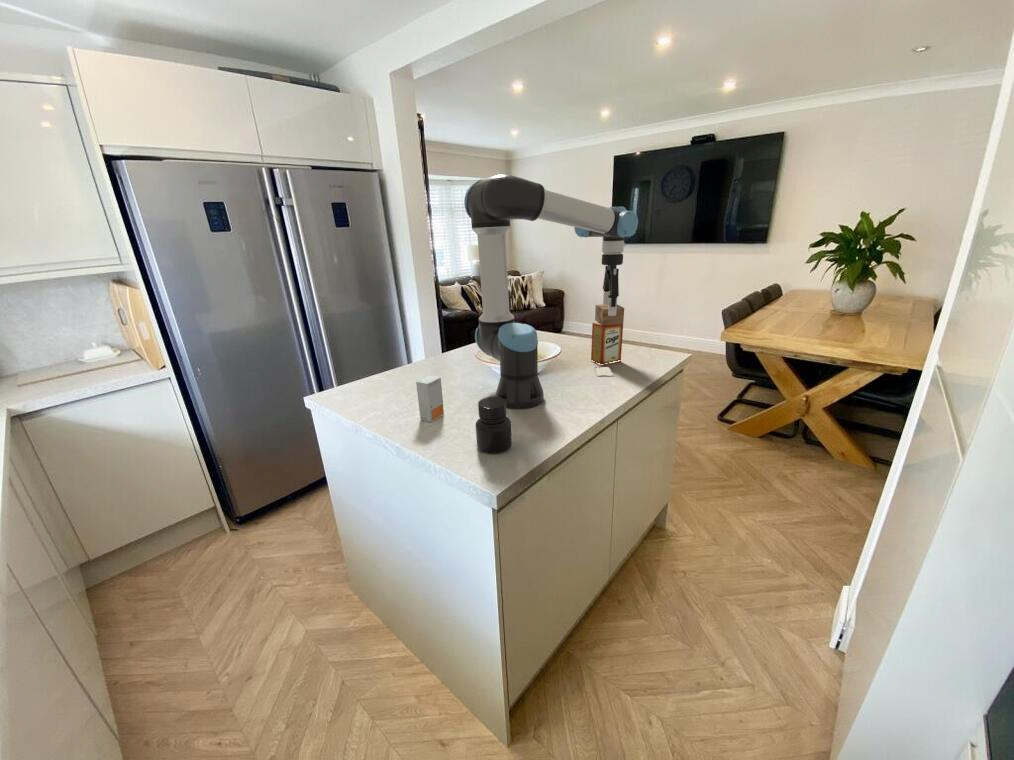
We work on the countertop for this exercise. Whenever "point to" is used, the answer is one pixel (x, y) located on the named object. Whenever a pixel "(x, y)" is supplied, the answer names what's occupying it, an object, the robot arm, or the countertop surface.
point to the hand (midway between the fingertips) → (609, 312)
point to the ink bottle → (493, 426)
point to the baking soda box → (606, 342)
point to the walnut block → (604, 319)
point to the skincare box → (430, 398)
